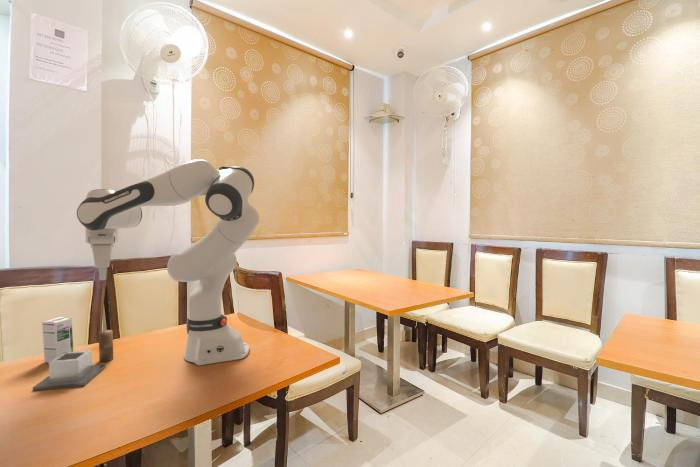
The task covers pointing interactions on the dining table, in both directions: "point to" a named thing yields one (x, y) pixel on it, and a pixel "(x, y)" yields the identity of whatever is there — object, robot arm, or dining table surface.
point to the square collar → (70, 371)
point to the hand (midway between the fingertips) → (102, 277)
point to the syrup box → (57, 337)
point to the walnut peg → (105, 345)
